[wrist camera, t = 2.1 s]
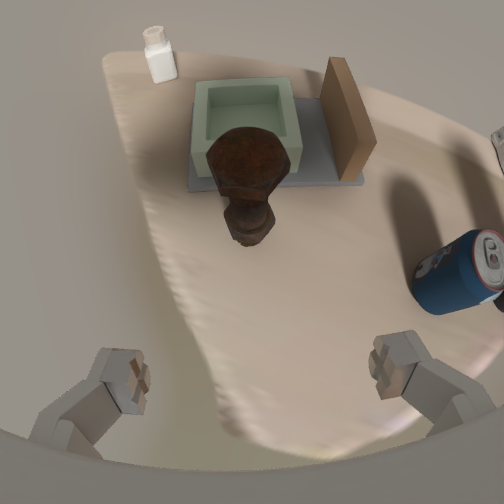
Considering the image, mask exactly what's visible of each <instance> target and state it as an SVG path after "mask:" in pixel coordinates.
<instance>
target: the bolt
mask: <svg viewBox="0 0 504 504" xmlns="http://www.w3.org/2000/svg"><path fill="white" fill-rule="evenodd" d="M206 159H207V163H208V166H209V168H210V171H211V173H212V176H213V178H214V180H215V183H216V185H217V188H218V190H219V193H220V195H221V196H227V197H229V199H230V204H229V206H228V207H227V208H226V210H225V211H224V218H225V221H226V223H227V226H228V228H229V231H230V233H231V236H232V238H233V240H237V241H238V243H240V242H241V245H242V246H245V247H248V246H254V245H256V244H258V243H260V242H261V241H262V240H263V239H264V237H265V236H266V235H267V234H268V233H269V231H270V230H271V229H272V227H273V226H274V224H275V220H276V219H275V217H274V214H273V211H272V209H271V207H270V205H269V203H268V196H269V195H270V194H271V193H272V192H273V190H274V189H275V188H276V187H277V186H278V185H279V184H280V182H281V181H282V180H283V179H284V178H285V177H286V176H287V174H288V173H289V172H290V167H291V162H290V159H289V157H288V154H287V152H286V150H285V148H284V146H283V144H282V143H281V141H280V140H279V138H278V137H277V136H276V135H275V134H274V133H273V132H271V131H268V130H265V129H262V128H258V127H249V126H247V127H238V128H233V129H231V130H229V131H227V132H225V133H224V134H222V135H221V136H220V137H219V138H218V139H217V140H216V141H215V142H214V143H213V144H212V146H211V147H210V148H209V150H208V151H207V153H206Z"/></svg>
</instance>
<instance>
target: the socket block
mask: <svg viewBox="0 0 504 504" xmlns="http://www.w3.org/2000/svg"><path fill="white" fill-rule="evenodd" d="M247 126H249V127H258V128H262V129H265V130H268V131H271V132H273V133H274V134H275V135H276V136H277V137H278V138H279V140H280V141H281V143H282V144H283V146H284V148H285V150H286V152H287V154H288V157H289V159H290V162H291V167H290V172H289V173H297V171H298V167H299V163H300V158H301V154H302V150H303V145H302V139H301V134H300V128H299V123H298V118H297V113H296V108H295V103H294V98H293V93H292V89H291V84H290V79H289V77H265V78H237V79H222V80H209V81H199V82H196V92H195V103H194V115H193V129H192V144H191V155H192V158H193V162H194V165H195V168H196V172H197V175H198V178H200V177H213V176H212V173H211V171H210V168H209V166H208V163H207V159H206V153H207V151H208V150H209V148H210V147H211V146H212V144H213V143H214V142H215V141H216V140H217V139H218V138H219V137H220V136H221V135H222V134H224V133H225V132H227V131H229V130H231V129H233V128H238V127H247Z"/></svg>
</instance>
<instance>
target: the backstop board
mask: <svg viewBox="0 0 504 504" xmlns="http://www.w3.org/2000/svg"><path fill="white" fill-rule="evenodd" d="M294 103H295V108H296V113H297V118H298V123H299V128H300V134H301V139H302V145H303V150H302V154H301V158H300V163H299V167H298V171H297V173H288V174H287V176H286V177H285V178H284V179H283V180H282V181H281V182H280V184H279V185H278V186H277V187H295V186H362V185H363V184H364V182H365V181H364V177H363V173H362V169H363V167H364V165H365V163H366V161H367V160H368V158H369V156H370V154H371V152H372V151H373V149H374V147H375V145H376V143H377V141H376V138H375V135H374V132H373V129H372V126H371V123H370V120H369V117H368V115H367V112H366V109H365V107H364V104H363V101H362V99H361V96H360V94H359V91H358V89H357V86H356V84H355V81H354V79H353V76H352V74H351V72H350V69H349V67H348V65H347V62H346V60H345V58H338V57H329V61H328V65H327V70H326V74H325V78H324V82H323V87H322V91H321V95H320V99H306V98H294ZM193 115H194V103H193V110H192V122H191V136H190V151H189V168H188V191H189V192H199V191H212V190H218V188H217V185H216V183H215V180H214V178H213V177H200V178H198V175H197V172H196V168H195V165H194V162H193V158H192V155H191V144H192V129H193Z"/></svg>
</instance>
